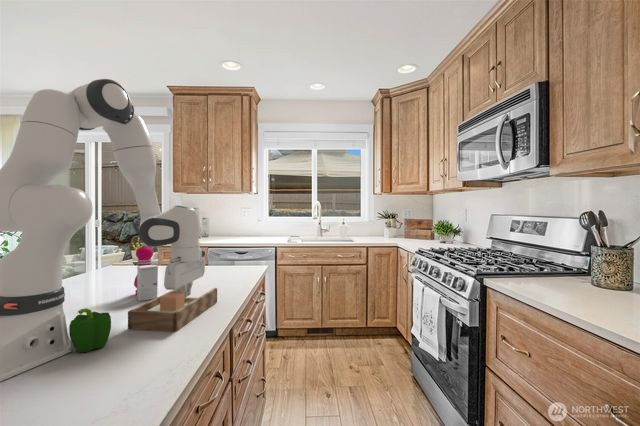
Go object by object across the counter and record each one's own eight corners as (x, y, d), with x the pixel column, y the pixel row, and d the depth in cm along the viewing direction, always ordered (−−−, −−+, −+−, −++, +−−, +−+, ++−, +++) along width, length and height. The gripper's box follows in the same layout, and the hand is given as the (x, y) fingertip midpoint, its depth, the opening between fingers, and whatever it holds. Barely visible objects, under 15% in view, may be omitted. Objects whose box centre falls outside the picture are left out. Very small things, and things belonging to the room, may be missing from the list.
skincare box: (140, 301, 116) (140, 267, 116) (136, 299, 120) (136, 266, 119) (158, 298, 121) (158, 265, 120) (154, 295, 124) (154, 264, 124)
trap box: (176, 331, 89) (176, 313, 89) (127, 329, 90) (127, 311, 90) (217, 301, 117) (217, 288, 117) (179, 300, 118) (179, 286, 118)
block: (176, 311, 97) (176, 297, 97) (159, 310, 97) (159, 297, 97) (184, 305, 102) (184, 293, 102) (169, 305, 102) (169, 292, 102)
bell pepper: (104, 338, 84) (104, 299, 84) (116, 347, 79) (116, 306, 79) (64, 349, 78) (63, 307, 77) (74, 359, 72) (73, 314, 72)
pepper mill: (159, 291, 130) (158, 241, 129) (147, 296, 123) (147, 243, 122) (141, 291, 131) (141, 241, 130) (129, 296, 123) (129, 243, 123)
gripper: (178, 260, 97) (178, 306, 97) (208, 250, 117) (208, 288, 118) (158, 260, 98) (158, 305, 98) (191, 250, 118) (191, 288, 118)
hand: (185, 296), depth 108 cm, fingers closed
